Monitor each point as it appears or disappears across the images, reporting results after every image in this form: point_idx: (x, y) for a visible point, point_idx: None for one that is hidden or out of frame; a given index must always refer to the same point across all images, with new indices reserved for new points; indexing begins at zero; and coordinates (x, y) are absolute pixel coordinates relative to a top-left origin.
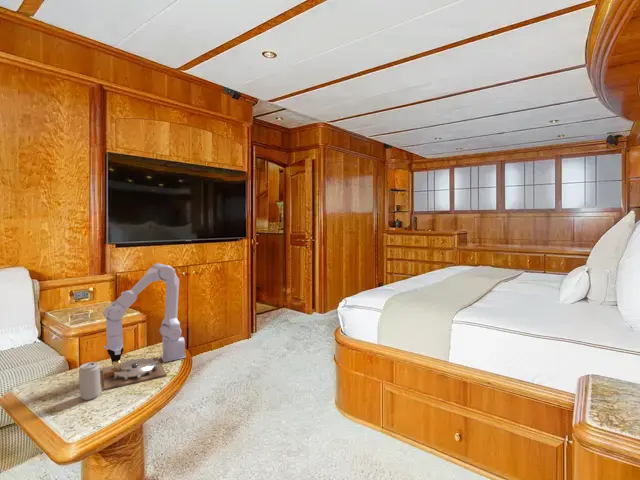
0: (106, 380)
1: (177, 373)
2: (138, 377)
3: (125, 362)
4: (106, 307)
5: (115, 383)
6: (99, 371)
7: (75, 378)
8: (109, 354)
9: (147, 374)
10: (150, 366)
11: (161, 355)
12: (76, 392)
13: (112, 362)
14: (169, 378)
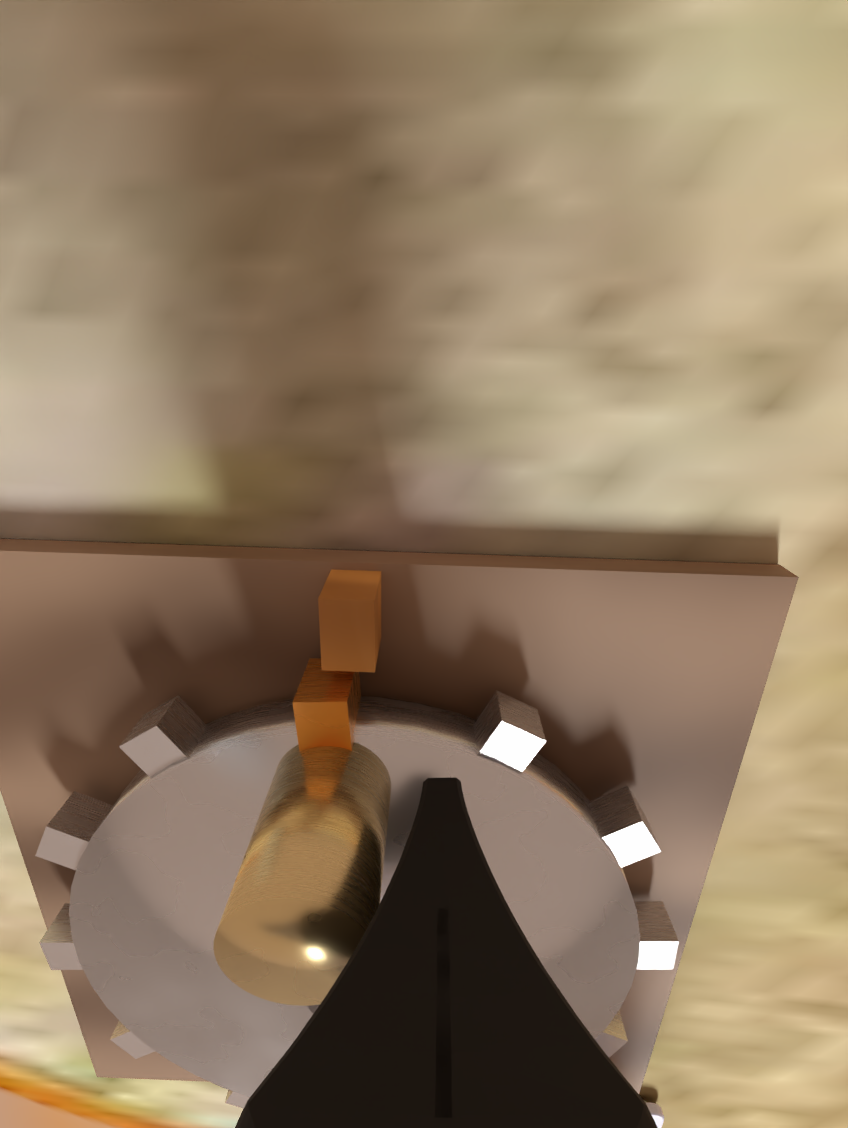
0: (210, 594)
1: (131, 1110)
2: (66, 914)
3: (601, 898)
4: None
5: (42, 684)
6: None
7: (738, 90)
8: (246, 1110)
9: None
10: (246, 1069)
11: (661, 1119)
12: (10, 104)
13: (404, 850)
14: (42, 1057)
